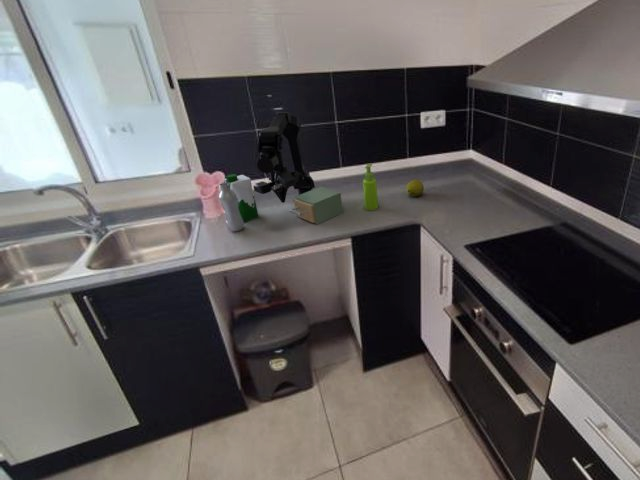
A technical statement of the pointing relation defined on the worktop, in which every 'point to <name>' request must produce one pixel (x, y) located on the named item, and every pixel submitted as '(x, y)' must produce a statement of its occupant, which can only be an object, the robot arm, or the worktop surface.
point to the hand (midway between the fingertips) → (283, 202)
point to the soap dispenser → (370, 190)
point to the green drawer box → (323, 203)
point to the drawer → (304, 210)
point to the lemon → (415, 188)
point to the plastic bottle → (230, 207)
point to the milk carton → (243, 196)
